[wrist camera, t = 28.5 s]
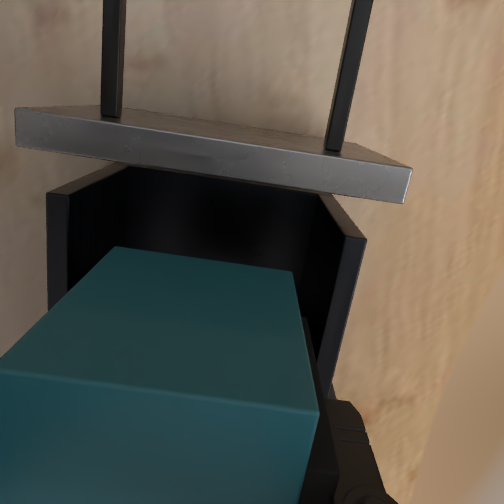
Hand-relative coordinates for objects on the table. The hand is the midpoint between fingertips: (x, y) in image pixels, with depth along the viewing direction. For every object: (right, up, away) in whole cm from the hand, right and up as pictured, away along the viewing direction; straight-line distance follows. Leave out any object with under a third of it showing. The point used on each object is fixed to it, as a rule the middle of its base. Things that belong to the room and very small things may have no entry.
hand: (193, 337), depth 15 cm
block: (0, 0, 0) cm, 0 cm away
